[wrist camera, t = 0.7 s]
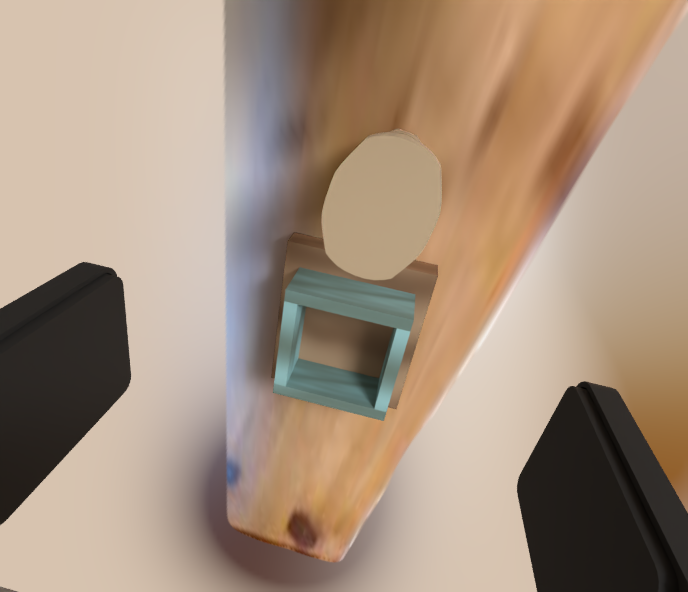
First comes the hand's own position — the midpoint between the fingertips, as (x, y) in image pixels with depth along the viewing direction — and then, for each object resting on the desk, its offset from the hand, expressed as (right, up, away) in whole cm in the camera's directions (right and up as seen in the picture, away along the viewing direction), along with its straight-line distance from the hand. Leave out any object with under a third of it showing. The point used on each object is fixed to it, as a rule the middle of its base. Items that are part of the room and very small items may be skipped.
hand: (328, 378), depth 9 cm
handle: (+4, +12, +23) cm, 27 cm away
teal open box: (+1, 0, +30) cm, 30 cm away
